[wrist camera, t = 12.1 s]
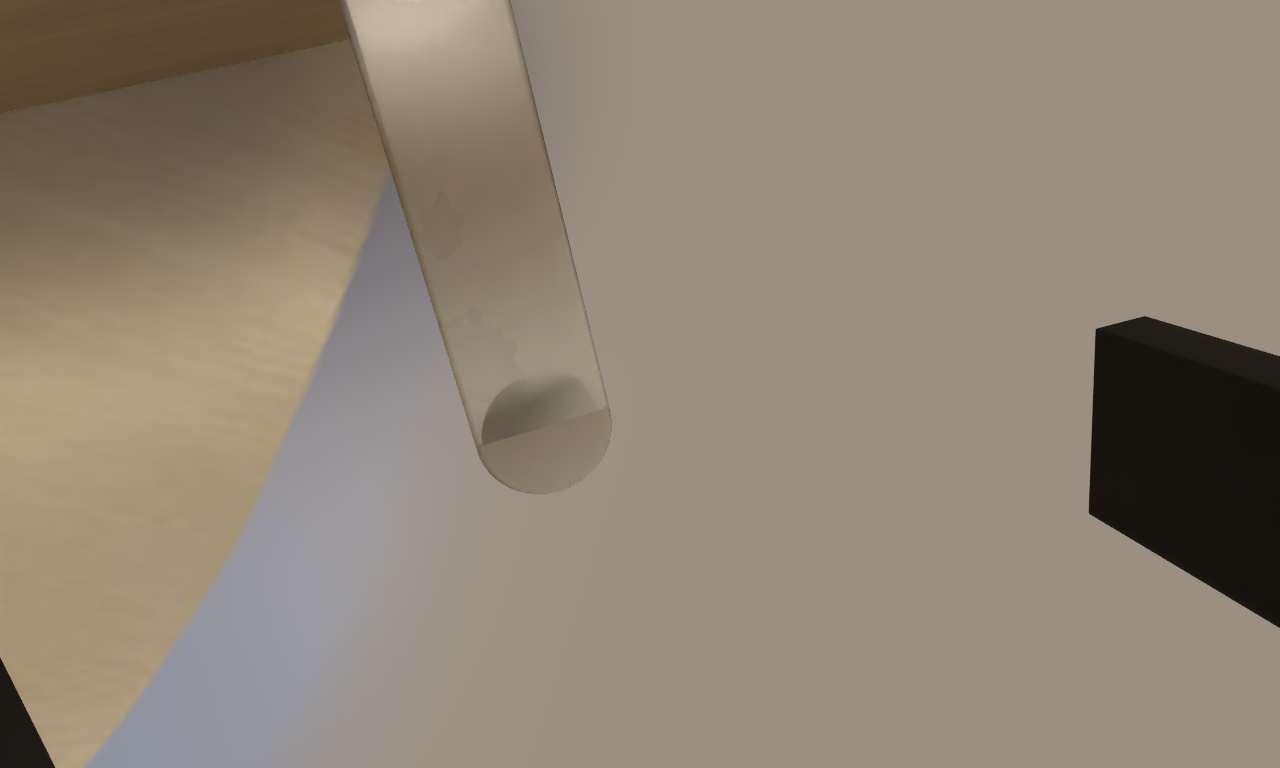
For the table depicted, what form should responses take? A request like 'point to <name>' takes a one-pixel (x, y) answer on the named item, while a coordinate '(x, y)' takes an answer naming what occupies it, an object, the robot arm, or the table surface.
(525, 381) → the cupboard door
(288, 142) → the table surface
